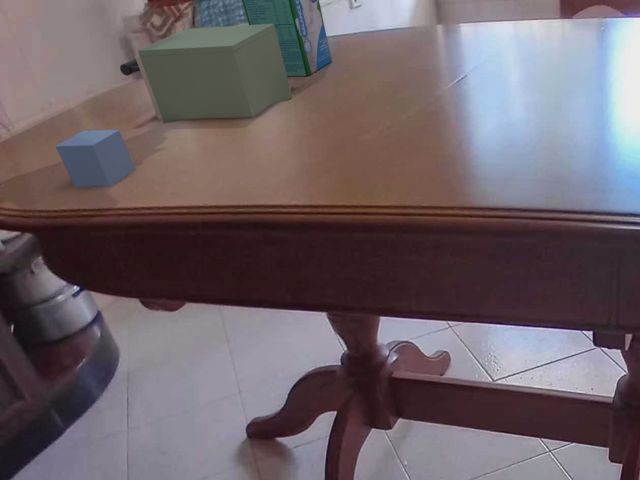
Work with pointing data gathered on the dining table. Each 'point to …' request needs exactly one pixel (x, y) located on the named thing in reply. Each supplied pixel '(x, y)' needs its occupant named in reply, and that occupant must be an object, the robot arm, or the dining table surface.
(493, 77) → the dining table surface
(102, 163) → the block
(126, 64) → the drawer
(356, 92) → the dining table surface
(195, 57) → the cabinet
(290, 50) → the milk carton
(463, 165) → the dining table surface
